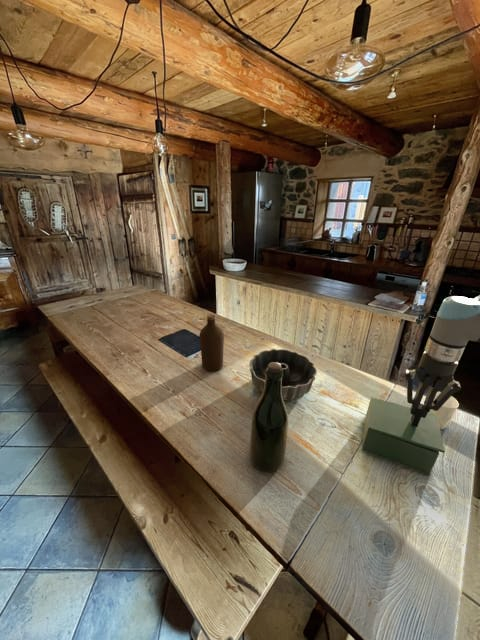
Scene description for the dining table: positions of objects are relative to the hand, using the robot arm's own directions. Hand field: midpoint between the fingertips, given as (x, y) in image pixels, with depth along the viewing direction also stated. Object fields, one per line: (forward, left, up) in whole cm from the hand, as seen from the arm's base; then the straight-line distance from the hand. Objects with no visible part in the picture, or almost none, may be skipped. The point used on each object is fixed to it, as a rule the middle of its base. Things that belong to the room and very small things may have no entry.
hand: (413, 422), depth 79 cm
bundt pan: (+44, -10, -11) cm, 46 cm away
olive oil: (+76, -9, -11) cm, 77 cm away
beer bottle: (+37, +23, -11) cm, 45 cm away
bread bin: (+3, 0, -10) cm, 11 cm away
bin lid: (+3, 0, -1) cm, 3 cm away
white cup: (-10, -17, -11) cm, 22 cm away
